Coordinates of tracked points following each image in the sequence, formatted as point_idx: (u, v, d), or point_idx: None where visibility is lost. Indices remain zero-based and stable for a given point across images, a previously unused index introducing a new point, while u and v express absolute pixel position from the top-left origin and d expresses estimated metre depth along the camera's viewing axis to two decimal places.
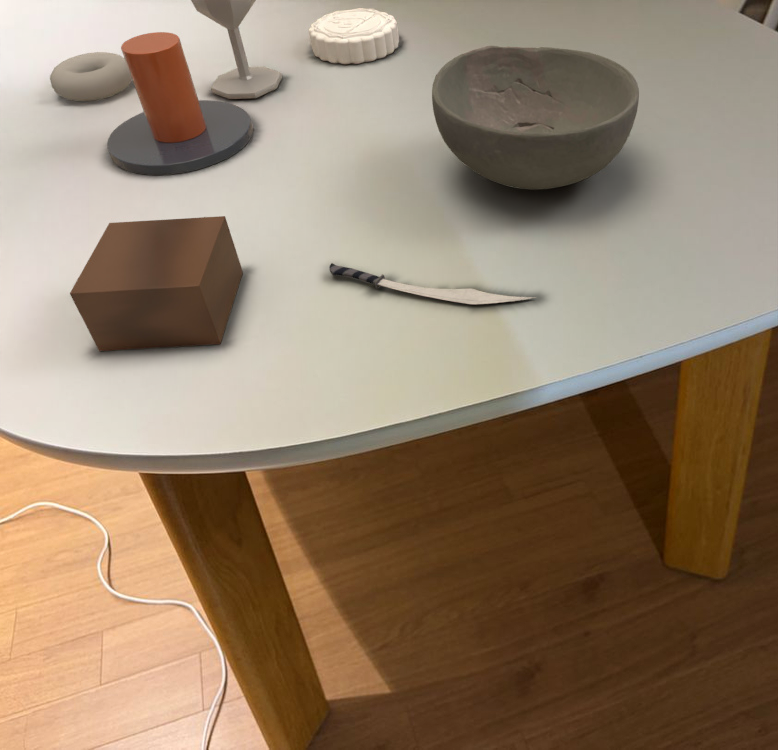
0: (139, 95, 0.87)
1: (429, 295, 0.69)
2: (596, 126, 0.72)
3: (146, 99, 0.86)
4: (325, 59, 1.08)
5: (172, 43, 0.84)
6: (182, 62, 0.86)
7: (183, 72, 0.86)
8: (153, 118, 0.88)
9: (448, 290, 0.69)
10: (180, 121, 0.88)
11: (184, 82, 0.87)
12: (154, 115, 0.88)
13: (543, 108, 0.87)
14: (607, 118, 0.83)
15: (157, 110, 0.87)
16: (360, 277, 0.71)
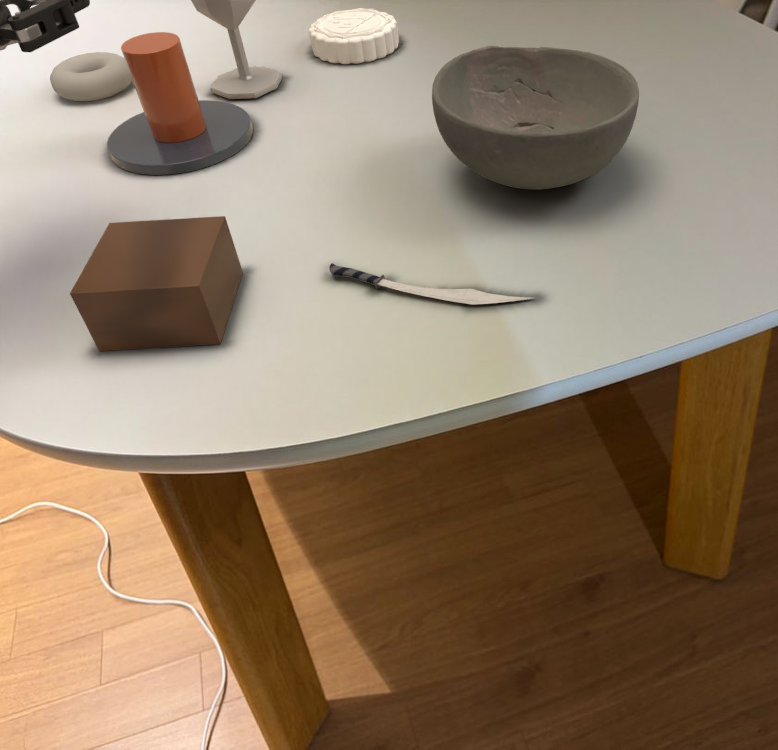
0: (139, 95, 0.87)
1: (429, 295, 0.69)
2: (596, 126, 0.72)
3: (146, 99, 0.86)
4: (325, 59, 1.08)
5: (172, 43, 0.84)
6: (182, 62, 0.86)
7: (183, 72, 0.86)
8: (153, 118, 0.88)
9: (448, 290, 0.69)
10: (180, 121, 0.88)
11: (184, 82, 0.87)
12: (154, 115, 0.88)
13: (543, 108, 0.87)
14: (607, 118, 0.83)
15: (157, 110, 0.87)
16: (360, 277, 0.71)
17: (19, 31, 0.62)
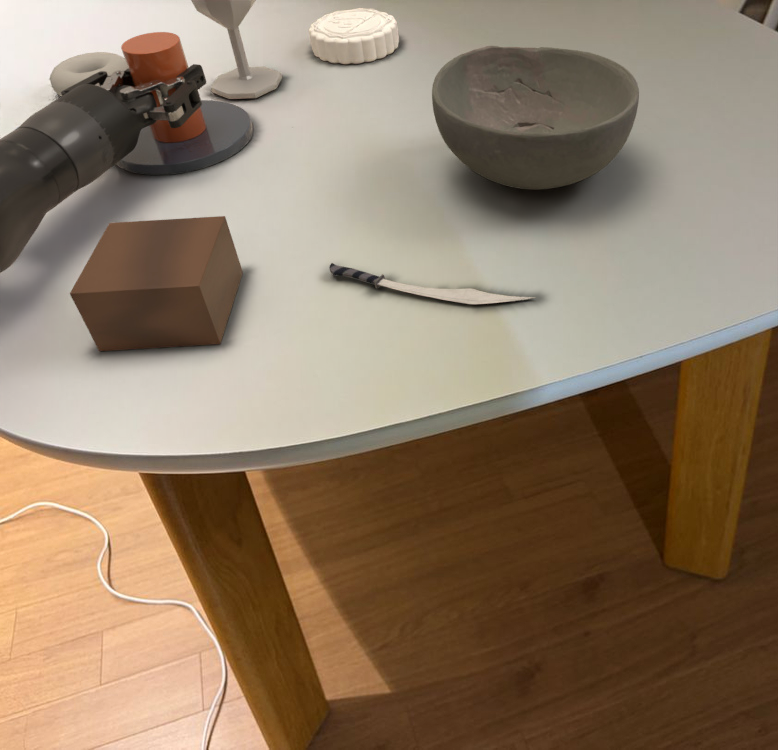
0: None
1: (429, 295, 0.69)
2: (596, 126, 0.72)
3: None
4: (325, 59, 1.08)
5: (173, 43, 0.84)
6: (182, 62, 0.86)
7: None
8: None
9: (448, 290, 0.69)
10: None
11: None
12: None
13: (543, 108, 0.87)
14: (607, 118, 0.83)
15: None
16: (360, 277, 0.71)
17: (172, 113, 0.81)
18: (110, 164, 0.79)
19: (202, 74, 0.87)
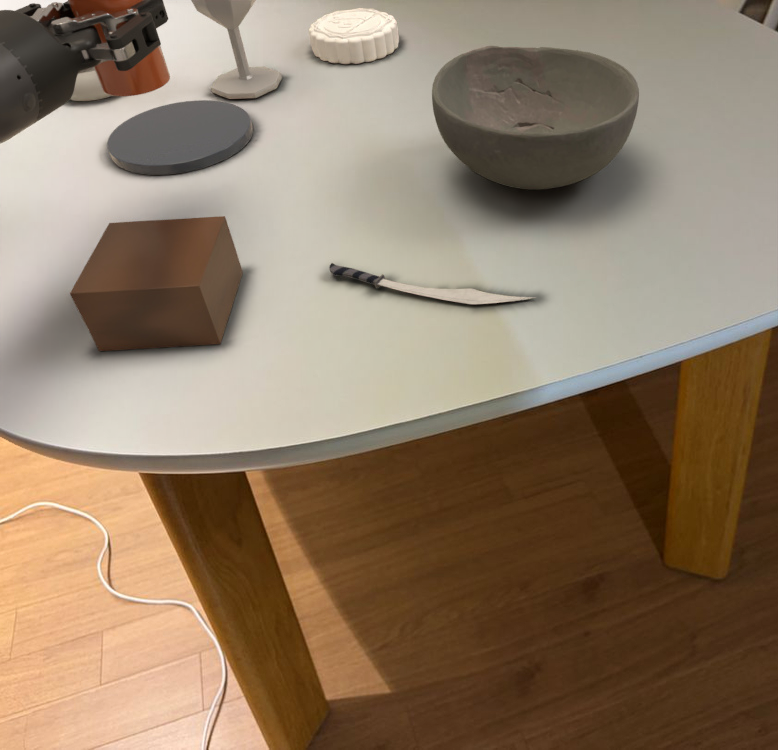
0: None
1: (429, 295, 0.69)
2: (596, 126, 0.72)
3: None
4: (325, 59, 1.08)
5: None
6: None
7: None
8: (100, 64, 0.69)
9: (448, 290, 0.69)
10: (135, 68, 0.70)
11: None
12: None
13: (543, 108, 0.87)
14: (607, 118, 0.83)
15: None
16: (360, 276, 0.71)
17: (118, 50, 0.62)
18: (36, 115, 0.60)
19: (162, 8, 0.69)
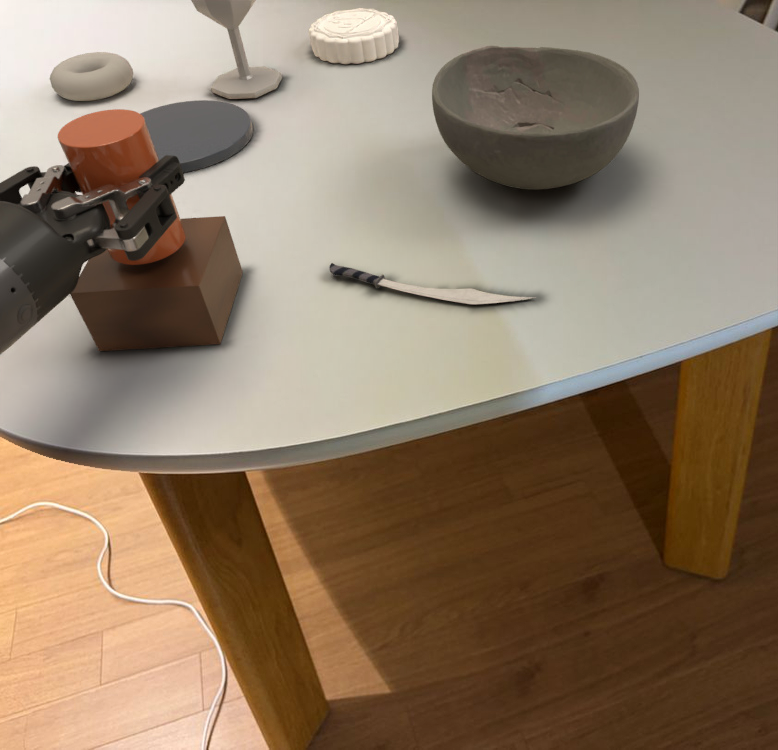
0: None
1: (429, 295, 0.69)
2: (596, 126, 0.72)
3: None
4: (325, 59, 1.08)
5: (134, 129, 0.57)
6: (148, 155, 0.59)
7: None
8: None
9: (448, 290, 0.69)
10: None
11: None
12: None
13: (543, 108, 0.87)
14: (607, 118, 0.83)
15: None
16: (360, 276, 0.71)
17: (129, 240, 0.53)
18: (33, 323, 0.52)
19: (178, 170, 0.60)
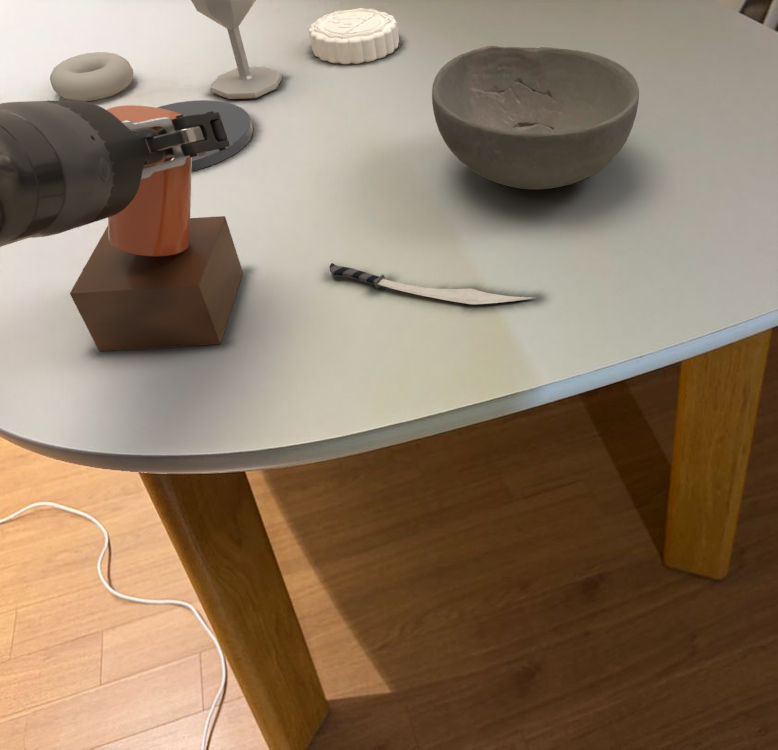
0: None
1: (429, 295, 0.69)
2: (596, 126, 0.72)
3: None
4: (325, 59, 1.08)
5: None
6: None
7: (184, 166, 0.61)
8: (119, 216, 0.61)
9: (448, 290, 0.69)
10: (159, 229, 0.62)
11: (181, 179, 0.61)
12: (122, 212, 0.61)
13: (543, 108, 0.87)
14: (607, 118, 0.83)
15: (130, 207, 0.60)
16: (360, 276, 0.71)
17: (186, 129, 0.53)
18: (108, 193, 0.48)
19: None
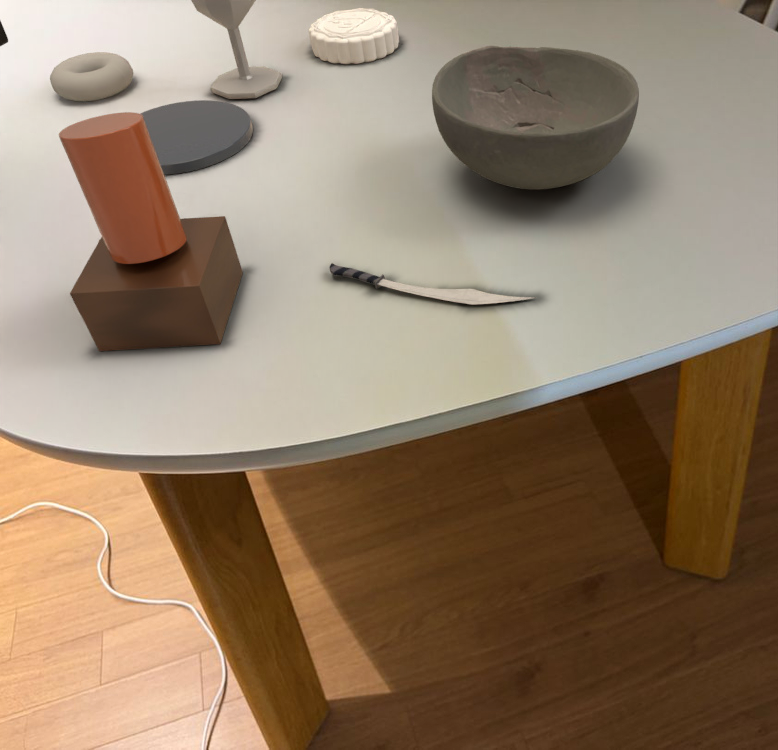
0: (86, 199, 0.61)
1: (429, 295, 0.69)
2: (596, 126, 0.72)
3: (94, 203, 0.60)
4: (325, 59, 1.08)
5: (131, 123, 0.59)
6: (145, 150, 0.60)
7: (147, 164, 0.60)
8: (106, 231, 0.61)
9: (448, 290, 0.69)
10: (145, 233, 0.61)
11: (148, 178, 0.60)
12: (107, 226, 0.61)
13: (543, 108, 0.87)
14: (607, 118, 0.83)
15: (111, 219, 0.60)
16: (360, 277, 0.71)
17: None
18: None
19: None
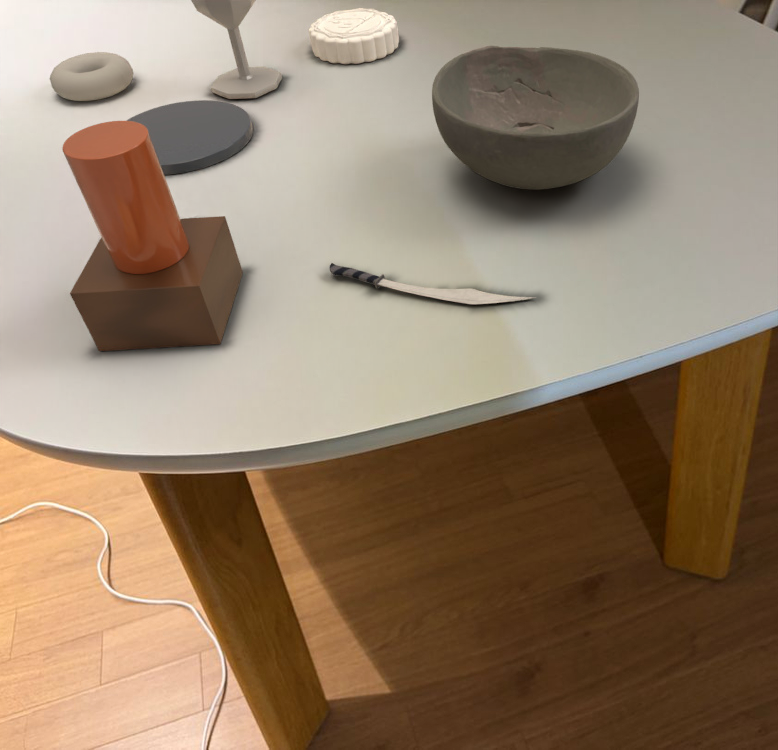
0: (90, 211, 0.60)
1: (429, 295, 0.69)
2: (596, 126, 0.72)
3: (99, 217, 0.60)
4: (325, 59, 1.08)
5: (137, 142, 0.58)
6: (151, 167, 0.59)
7: (153, 180, 0.60)
8: (110, 242, 0.61)
9: (448, 290, 0.69)
10: (149, 247, 0.62)
11: (154, 194, 0.60)
12: (111, 238, 0.61)
13: (543, 108, 0.87)
14: (607, 118, 0.83)
15: (116, 233, 0.61)
16: (360, 276, 0.71)
17: None
18: None
19: None
